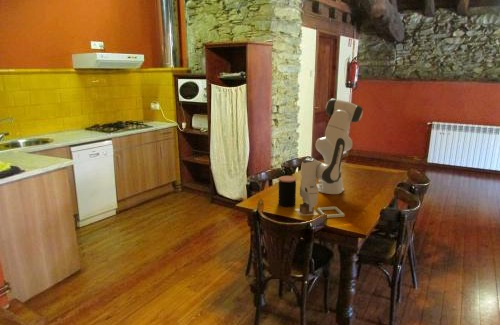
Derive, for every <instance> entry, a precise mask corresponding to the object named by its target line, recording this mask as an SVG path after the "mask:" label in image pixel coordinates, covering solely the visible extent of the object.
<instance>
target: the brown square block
mask: <svg viewBox="0 0 500 325" xmlns="http://www.w3.org/2000/svg"><path fill="white" fill-rule="evenodd" d="M306 203H307V202H306ZM307 204H308V203H307ZM299 208H300V211H301V212H302V214H314V210H315V209H314V208H315V206H313V208H312V211H309V204H308V207H305V204H303V203H299Z"/></svg>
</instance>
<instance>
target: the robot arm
mask: <svg viewBox="0 0 500 325" xmlns="http://www.w3.org/2000/svg"><path fill="white" fill-rule="evenodd" d="M325 114H326V115H328V117H329V118H330V119H329V120H328V122H327V126H326V128H325V132H324V136H323V137H318V138H317V139H316V141H315V146H314V147H315V149H316V151H317V152H318V153H320V155H321V156H322V158H323V160H324V162H322V161H320V160H317V159H316V158H315V157H307V158H304V159H303V160H302V162H301V166H300V175H301V176H300V177H301V178H300V185H299V196H300V197H301V200H302V204H307V203H308V204H309V211H312V208H313V207H317V206H318V198H319V197H318V196H319V195H318V193H323V194H326V195H327V194H329V195H339V194H342V192H344V191H345V188H344V186H343V182H344V180H343V178H342V161H343V155H344V152H347V151H350V150H351V149H352V148H353V139H352V138H351V137H350V136H349V134H348V131H349V127H350V125H351V123H359V121H361V119H362V117H363V114H364V110H363V107H362V106H360V105H358V104H355V103H353V102H350V101H346V100H341V99H337V98H330V99H329V100H328V101H327V102H326V105H325ZM317 179H318V181H317Z"/></svg>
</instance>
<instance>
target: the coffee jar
mask: <svg viewBox="0 0 500 325" xmlns="http://www.w3.org/2000/svg"><path fill="white" fill-rule="evenodd" d="M278 180H279V181H278V206H280V207H283V208H292V207H295V206H296V201H297V200H296V198H297V197H296V196H297V193H296V192H297V177H295V176H292V175H291V176H290V175H283V176H282V175H281V176H279V177H278Z"/></svg>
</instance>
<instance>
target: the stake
mask: <svg viewBox="0 0 500 325" xmlns="http://www.w3.org/2000/svg"><path fill="white" fill-rule="evenodd" d="M305 207H308V204H305ZM294 210H295V211H296V213H297V214H298V215H299V217H305V216H306V217H307V216H317V215H319V214H320V213H319V212H318V211H317V210H315V209H314V214H302V212H301V211H300V207H299V208H294Z"/></svg>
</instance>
